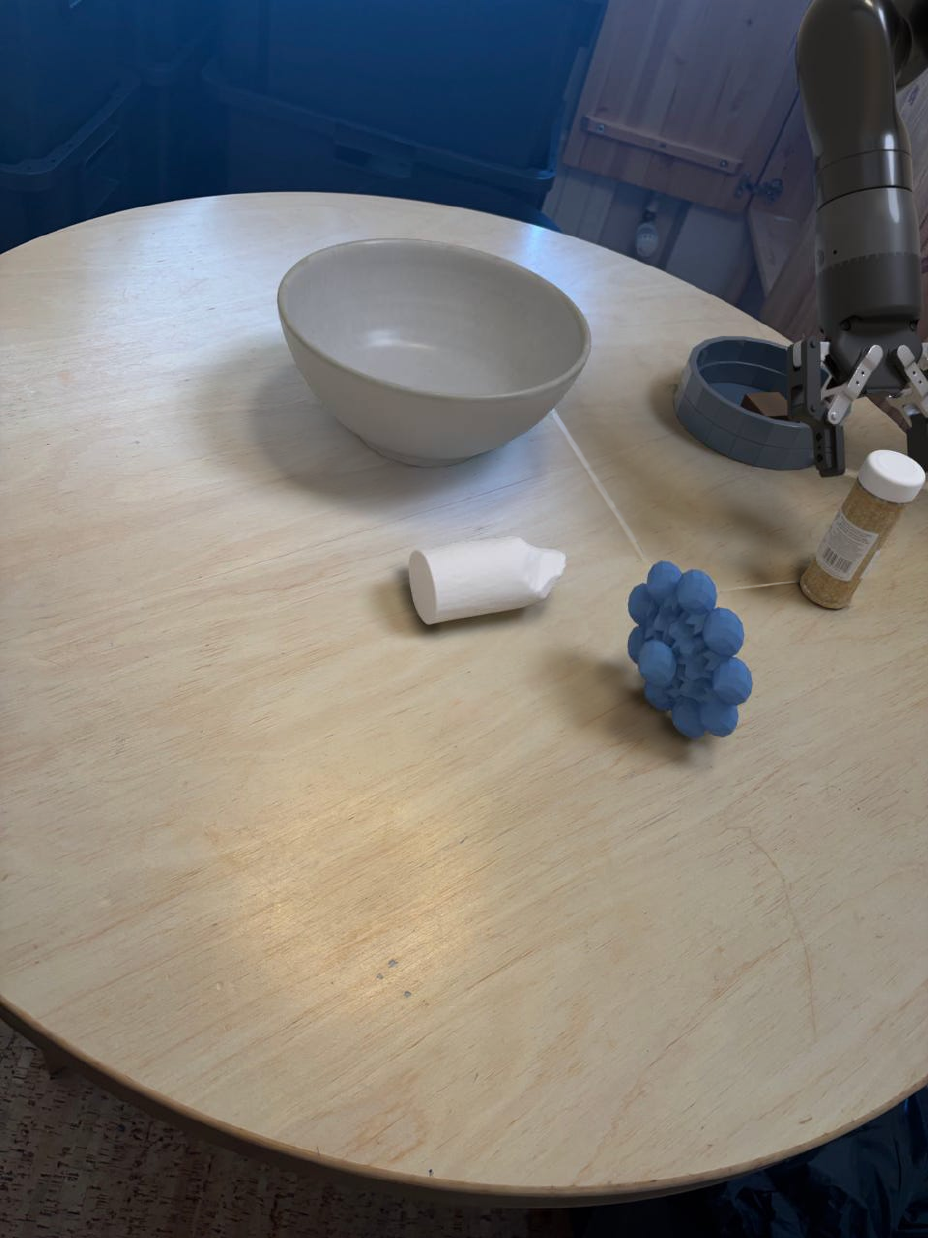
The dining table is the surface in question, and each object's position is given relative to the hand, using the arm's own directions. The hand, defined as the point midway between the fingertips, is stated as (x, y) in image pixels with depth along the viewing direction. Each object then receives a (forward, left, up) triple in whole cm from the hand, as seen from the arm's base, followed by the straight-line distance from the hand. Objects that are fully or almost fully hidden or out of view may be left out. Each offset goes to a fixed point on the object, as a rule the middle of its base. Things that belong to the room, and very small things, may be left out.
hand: (878, 474), depth 74 cm
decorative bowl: (+36, -14, -12) cm, 40 cm away
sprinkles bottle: (0, +1, -12) cm, 12 cm away
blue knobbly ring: (+17, +17, -12) cm, 27 cm away
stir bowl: (+2, -24, -12) cm, 27 cm away
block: (+2, -21, -11) cm, 24 cm away
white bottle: (+29, +8, -12) cm, 32 cm away
